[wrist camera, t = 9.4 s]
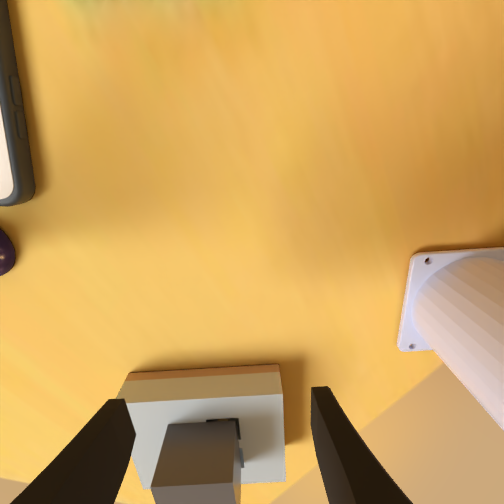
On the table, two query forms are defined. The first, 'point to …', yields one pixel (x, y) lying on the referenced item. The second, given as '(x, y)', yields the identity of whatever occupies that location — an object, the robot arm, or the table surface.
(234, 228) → the table surface
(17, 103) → the phone case
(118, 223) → the table surface
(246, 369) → the socket
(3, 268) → the toy lamp
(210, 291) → the table surface
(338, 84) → the table surface
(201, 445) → the plug
